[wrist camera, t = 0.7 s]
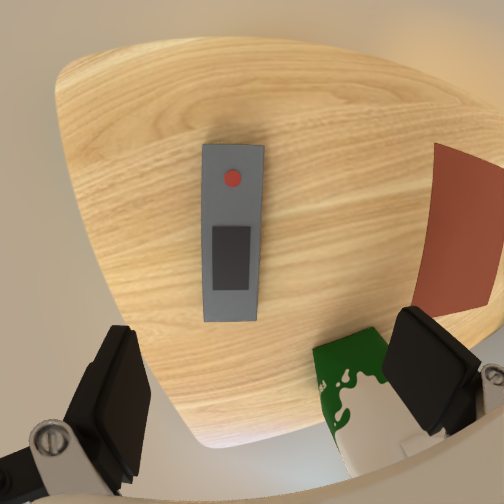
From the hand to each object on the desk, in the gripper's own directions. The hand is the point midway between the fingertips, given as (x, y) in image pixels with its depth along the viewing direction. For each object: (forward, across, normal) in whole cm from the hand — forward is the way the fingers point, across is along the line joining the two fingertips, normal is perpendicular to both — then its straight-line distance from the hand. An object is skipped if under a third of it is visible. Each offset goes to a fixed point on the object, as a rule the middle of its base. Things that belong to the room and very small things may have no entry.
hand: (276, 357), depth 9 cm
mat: (+15, -28, 0) cm, 32 cm away
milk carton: (+15, -12, +14) cm, 23 cm away
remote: (+15, +1, 0) cm, 15 cm away
